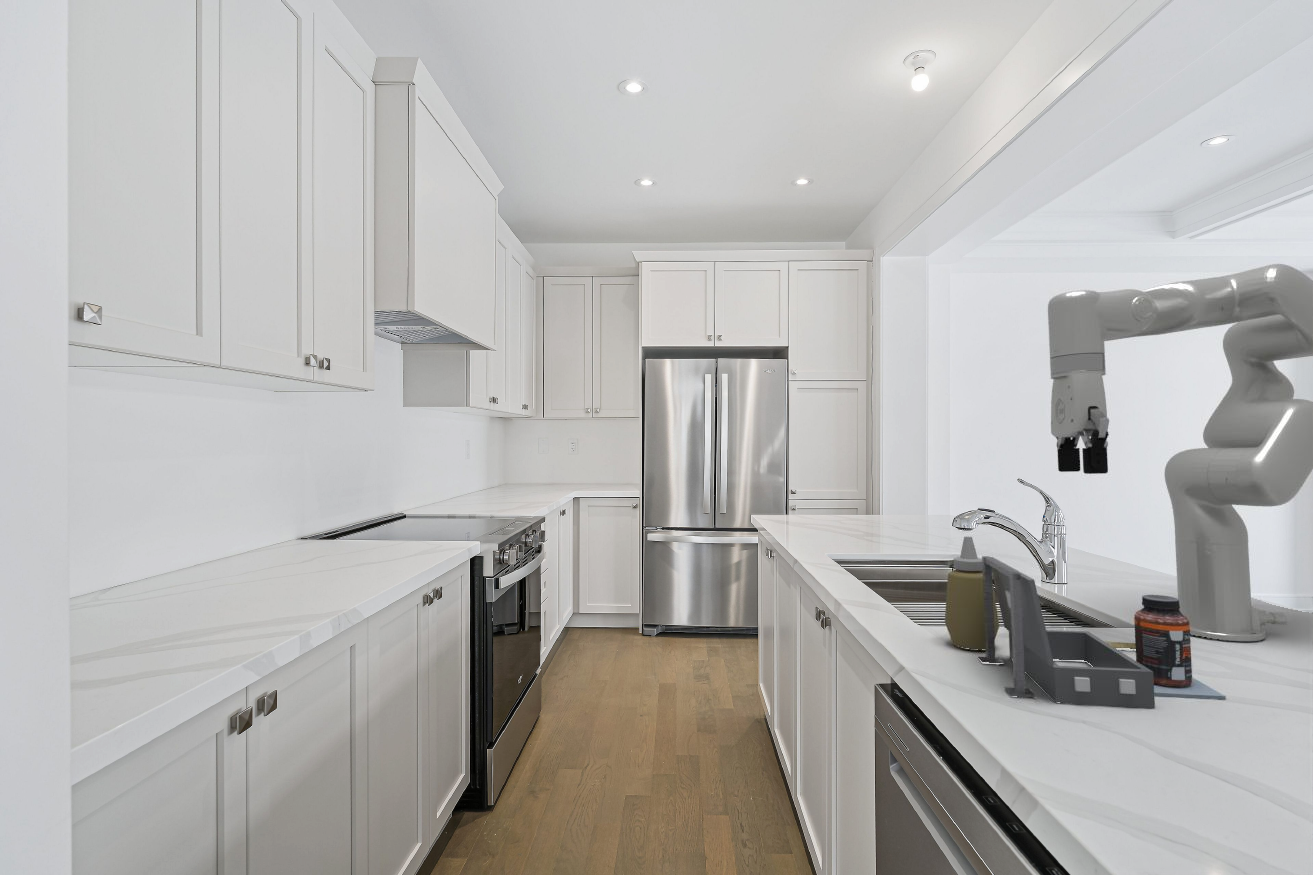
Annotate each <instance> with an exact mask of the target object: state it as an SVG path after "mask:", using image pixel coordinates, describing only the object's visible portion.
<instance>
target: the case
mask: <svg viewBox="0 0 1313 875" xmlns="http://www.w3.org/2000/svg"><path fill="white" fill-rule="evenodd" d="M1046 632H1047V636H1048V640H1049V645H1050V649H1051V653H1052V657H1053V659H1059V660H1084V661H1087V662H1088V663H1090V664H1091V665H1092V666H1093V667H1091V666H1074V665H1073V666H1071V665H1059V664H1057V662H1055V661H1053V662H1054V665H1051V666H1049V665H1048V664H1047V663H1045V662H1044V661H1043V660H1042V659H1041V658H1040V657H1038V656H1037V655H1036V654H1035V653H1034V652H1033V651H1031V650H1030V649H1029V648H1028V647H1027V646H1026V645H1024V644H1023V645H1024V669H1025V672H1026V673H1027V674H1028V675H1029V676H1030V677H1031V678H1032V679H1033V680H1034V681H1035V682H1036V683H1037V684H1038V685H1039V686H1040V687H1041V688H1042V689H1043V690H1044V691H1045V692H1046V693H1047V694H1048V695H1049V696H1050V697H1051V698H1052V699H1053V700H1054V701H1055V702H1060V703H1059V704H1063V703H1070V705H1081V704H1086V705H1085V706H1099V707H1100V706H1103V707H1118V706H1119V708H1120V706H1121V707H1122V708H1123V707H1124V708H1136V709H1137V708H1139V709H1156V703H1155V702H1156V701H1155V699H1156V698H1155V696H1154V677H1153V671H1151V670H1149V669H1148V668H1146V667H1145V666H1143V665H1141V664H1140V663H1138V662H1137V661H1136V659H1134V658H1132V657H1130V656H1128V655H1127V654H1126V653H1124V652H1123V651H1119V650H1117V649H1116V648H1114V647H1113V646H1111V645H1109V644H1108V643H1106V642H1107V641H1105V640H1103V639H1101V638H1100V637H1098V636H1096V635H1095V634H1093V633H1092V632H1090V631H1089V630H1087V631H1086V630H1085V631H1084V630H1059V629H1058V630H1056V629H1046ZM1008 643H1009V644H1008V646H1009V658H1010V657H1011V658H1012V659H1013V650H1012V633H1010V632H1009V631H1008ZM1026 673H1025V674H1026ZM1027 674H1026V675H1027ZM1028 675H1027V676H1028ZM1029 676H1028V677H1029ZM1030 677H1029V678H1030ZM1031 678H1030V679H1031ZM1032 679H1031V680H1032ZM1033 680H1032V681H1033ZM1034 681H1033V682H1034ZM1035 682H1034V683H1035ZM1036 683H1035V684H1036ZM1037 684H1036V685H1037ZM1038 685H1037V686H1038ZM1039 686H1038V687H1039ZM1040 687H1039V688H1040ZM1041 688H1040V689H1041ZM1042 689H1041V690H1042ZM1043 690H1042V691H1043ZM1044 691H1043V692H1044ZM1045 692H1044V693H1045ZM1046 693H1045V694H1046ZM1047 694H1046V695H1047ZM1048 695H1047V696H1048ZM1049 696H1048V697H1049ZM1050 697H1049V698H1050ZM1051 698H1050V699H1051ZM1052 699H1051V700H1052ZM1053 700H1052V701H1053ZM1054 701H1053V702H1054ZM1055 702H1054V703H1055ZM1071 703H1072V704H1071ZM1087 704H1088V705H1087Z"/></svg>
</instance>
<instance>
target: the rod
mask: <svg viewBox="0 0 1313 875" xmlns="http://www.w3.org/2000/svg"><path fill="white" fill-rule="evenodd" d="M1105 642H1106V643H1108V644H1109V645H1111V646H1113V647H1114V648H1130V649H1136V647H1135V642H1122V641H1121V642H1119V641H1105Z"/></svg>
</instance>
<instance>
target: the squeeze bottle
mask: <svg viewBox="0 0 1313 875" xmlns="http://www.w3.org/2000/svg"><path fill="white" fill-rule="evenodd" d="M975 547H976V546H975V544H974V539H973V537H972V536H964V537H963V540H962V546H961V552H960V556H959V557H958V556H957V557H954V558H953V568H954V569H953V570H951V571H950V572H949V573H948V574H947V585H946V596H945V597H946V599H945V600H946V601H945V611H944V623H945V627H946V629H947V632H948V634H949V637H950V639H951V642H952V644H953V645H954V646H955V645H957V646H959V647H963V648H969V649H978V650H981V651H983V650H982V649H986V646H985V621H984V596H983V570H982V557H981V558H980V557H978V555H977V551H976V550H977V549H976V548H975ZM992 587H993V612H994V637H995V639H996V638H997V635H998V631H999V629H1000V623H999V616H998V609H997V603H996V602H997V601H996V596H995V587H994V581H992ZM957 646H956V647H957ZM959 647H958V648H959ZM963 648H962V649H963ZM978 650H977V651H978Z"/></svg>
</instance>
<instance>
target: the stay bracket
mask: <svg viewBox="0 0 1313 875" xmlns="http://www.w3.org/2000/svg"><path fill="white" fill-rule="evenodd" d="M991 557H992V556H987V555H986V556H983V555H981V559H982V570H983V596H984V621H985V646H986V650H985V656H977V659H978V658H979V659H980V660H981V661H982V662H989V663H1004V664H1005V662H1004V661H1003V660H1002V659H1001V658H1000V657H997V656H996V644H995V642H996V638H995V637H994V612H993V588H994V586H993V587H992V582H993V575H992V567H993V568H995V569H996V570H998V571H1000V572H1001V573H1003V574H1005V575H1006V576H1008V577H1010V601H1011V626H1012V650H1013V661H1012V670H1013V671H1012V673H1013V687H1011V686H1010V687H1009V686H1007V687H1004V692H1005V693H1006V694H1007V693H1008V694H1009V695H1010V696H1017V697H1016V698H1021V697H1036V694H1035V693H1034V692H1033V691H1032V690H1031V689H1030V688H1027V687H1026V676H1025V675H1026V673H1025V669H1024V645H1023V621H1022V597H1021V574H1020V573H1018V572H1016V571H1014V570H1012V569H1010V568H1008V567H1007V566H1005V565H1003V564H1001V563H999V562H998V561H996V560H994V559H992V558H991ZM1008 694H1007V695H1008ZM1009 695H1008V696H1009ZM1010 696H1009V697H1010Z"/></svg>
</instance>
